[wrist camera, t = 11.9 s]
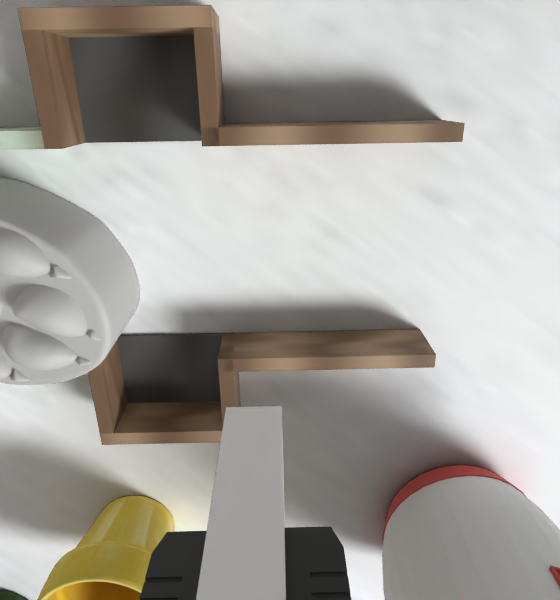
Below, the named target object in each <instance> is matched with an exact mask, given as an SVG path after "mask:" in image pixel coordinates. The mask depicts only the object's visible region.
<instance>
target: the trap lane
mask: <svg viewBox="0 0 560 600" xmlns="http://www.w3.org/2000/svg"><path fill="white" fill-rule="evenodd" d="M18 13H19V19H20V24H21V29H22V34H23V39H24V44H25V50H26V55H27V60H28V65H29V70H30V75H31V81H32V86H33V91H34V96H35V101H36V106H37V112H38V117H39V122H40V127H0V150H11V149H63V148H67V147H70V146H74V145H78V144H82V143H92V142H150V141H202V146H242V145H300V144H358V143H416V142H462V139H463V131H464V123H459V122H452V121H446V120H410V121H350V122H291V123H232V124H225V122H224V104H223V86H222V68H221V50H220V32H219V16H218V15H217V13H216V12H215V10H214V9H213V7H212V6H211V5H184V6H115V7H46V8H18ZM435 358H436V354H435V353H434V351H433V349H432V348H431V346H430V345H429V343H428V341H427V340H426V338H425V337H424V335H423V334H422V332H421V330H420V329H395V330H347V331H299V332H251V333H204V334H156V335H120V336H119V337H118V339H117V341H116V342H115V344H114V345H113V347H112V348H111V350H110V351H109V353H108V355H107V356H106V358H105V359H104V360H103V361H102V362H101V363H100V364H99V365H98V366H97V367H96V368H94V369H93V370H91V371H89V372H87V373H85V374H83V375H89V380H90V385H91V390H92V395H93V401H94V406H95V411H96V416H97V421H98V426H99V432H100V437H101V442H102V445H113V444H156V443H200V442H221V437H222V430H223V424H224V417H225V411H226V407H240V392H239V374H238V372H240V371H286V370H332V369H378V368H425V367H434V366H435Z"/></svg>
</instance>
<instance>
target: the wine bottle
mask: <svg viewBox="0 0 560 600" xmlns="http://www.w3.org/2000/svg"><path fill="white" fill-rule="evenodd" d="M0 600H28V599H26V598H24V597H22V596H20V595H19V594H16V593H13V592H9V591H6V590H0Z"/></svg>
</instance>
